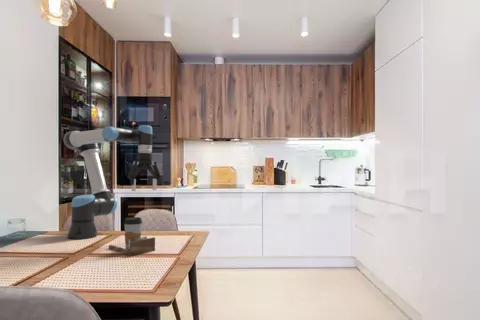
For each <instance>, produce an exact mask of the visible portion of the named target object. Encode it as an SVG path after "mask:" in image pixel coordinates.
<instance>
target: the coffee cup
mask: <svg viewBox="0 0 480 320" xmlns="http://www.w3.org/2000/svg"><path fill="white" fill-rule="evenodd" d="M124 219H125V220H124V223H123V224H124V244H125V249H127V250H128V249H129V239H134V238H140V237H142V224H143V219H142V218H141V217H137V216H136V217H135V216H134V217H126V218H124Z"/></svg>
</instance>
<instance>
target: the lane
mask: <svg viewBox="0 0 480 320" xmlns="http://www.w3.org/2000/svg"><path fill="white" fill-rule="evenodd" d="M108 249H110V250H112V249H113V251H115V250H116V252H120V253H122V254H126V255H127V256H136V255H141V254H145V253H149V252H154V251H156V237H149V238H148V237H147V239H142V240H137V241H132V242H130V250H127V249H126V248H123V247H120V246H117V245H114V244H108Z"/></svg>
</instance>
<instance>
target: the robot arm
mask: <svg viewBox="0 0 480 320" xmlns="http://www.w3.org/2000/svg"><path fill="white" fill-rule="evenodd" d="M63 136H64V137H63V143H64V145H65V146H66V148H68V149H70V150H73V151H79V153H80V156H81V157H83V159H84V163H85V167H86V172H87V175H88V179H89V183H90V188H91V192H92V193H91V194H90V193H89V194H82V195H77V196H74V197H73V198H72V199H71V219H70V220H71V223H70V226H69V228H68V229H69V230H68V232H67V239H70V240H85V239H91V238H95V237H97V236H98V231H97V228H96V225H95V217H101V216H108V215H111V214H113V213H115V211H116V210H117V207H118V198H117V197H116V196H115V195H113V194H112V191H111V190H110V189H108V187H107V183H106V180H105V174H104V170H103V167H102V163H101V159H100V153H101V150H102V149H103V143H110V142H119V143H126V144H138V145H137V146H138V147H137V148H138V149H137V152H138V154H137V160H138V161H137V160H133V161H132V166H131V168H130V169H129V171H128V174H127V176H126V177H127V179H129V180H130V185H131V192H137V191H136V189H137V188H136V187H137V186H136V185H137V184H136V183H137V179H136V177H137V176H138V175H139V174H140V172H141V171H142V170H148V171H149V173H150V175H151V176H152V177H153V178H152V191H157V187H158V186H157V185H158V180H159V179H160V178H161V177H162V176H161V173H160V171H159V168H158V165H157V161H152V159H153V154H152V153H153V127H152V126H151V125H147V124H141V125H139V126H138V129H130V128H129V129H128V128H121V127H115V126H105V127H104V128H99V129H93V130H84V131H80V130H71V131H68V132H66V133H65V134H64V135H63Z"/></svg>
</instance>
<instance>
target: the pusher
mask: <svg viewBox="0 0 480 320" xmlns="http://www.w3.org/2000/svg"><path fill="white" fill-rule="evenodd" d="M142 239H148V236H146V235H145V236H141V237H140V238H134V239H129V249H128V250H130V242H132V241H137V240H142Z"/></svg>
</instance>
